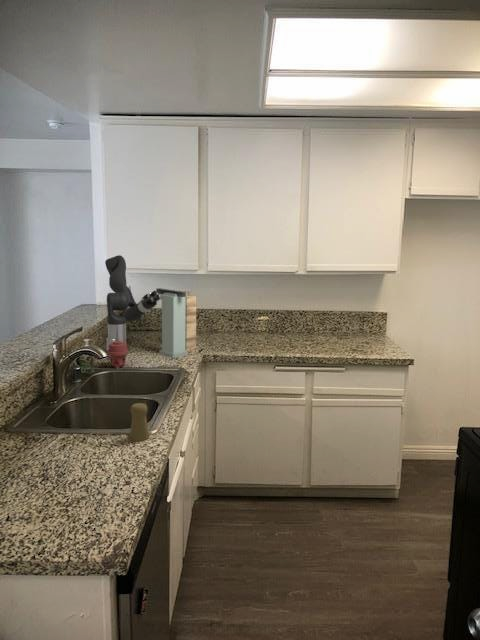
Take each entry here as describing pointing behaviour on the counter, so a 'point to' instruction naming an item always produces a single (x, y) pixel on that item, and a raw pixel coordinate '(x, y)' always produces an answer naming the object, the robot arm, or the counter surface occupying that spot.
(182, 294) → the lever bar
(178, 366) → the counter surface
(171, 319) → the frame
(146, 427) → the cork
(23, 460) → the counter surface
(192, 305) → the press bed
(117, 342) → the mechanical component
